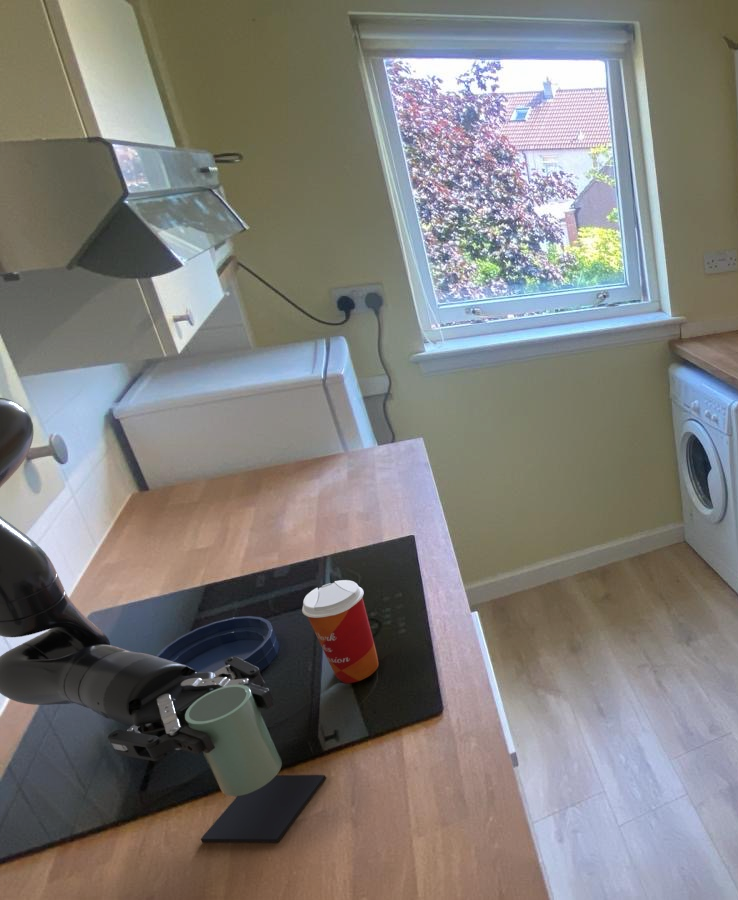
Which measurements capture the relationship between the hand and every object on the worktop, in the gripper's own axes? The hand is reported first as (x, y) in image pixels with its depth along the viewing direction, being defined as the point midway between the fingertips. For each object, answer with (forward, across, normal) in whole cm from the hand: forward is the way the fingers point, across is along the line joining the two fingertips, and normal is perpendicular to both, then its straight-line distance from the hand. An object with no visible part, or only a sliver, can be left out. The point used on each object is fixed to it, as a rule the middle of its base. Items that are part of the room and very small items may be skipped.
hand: (239, 721), depth 81 cm
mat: (-2, 0, +14) cm, 15 cm away
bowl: (-33, +16, +15) cm, 40 cm away
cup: (-2, 0, +9) cm, 9 cm away
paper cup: (-13, +22, +15) cm, 29 cm away
